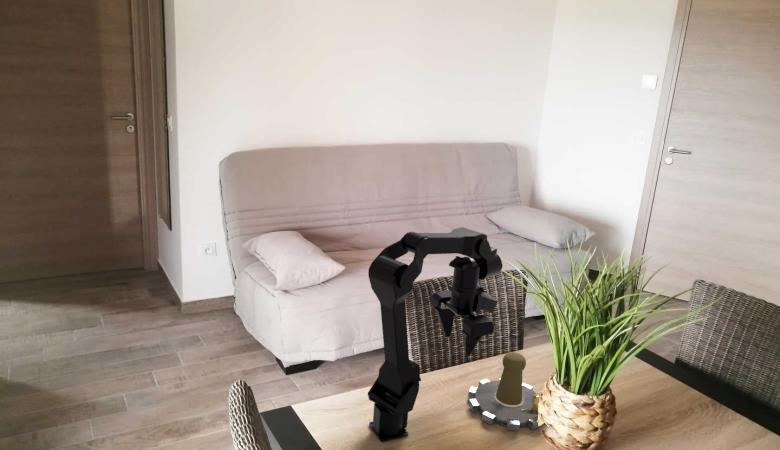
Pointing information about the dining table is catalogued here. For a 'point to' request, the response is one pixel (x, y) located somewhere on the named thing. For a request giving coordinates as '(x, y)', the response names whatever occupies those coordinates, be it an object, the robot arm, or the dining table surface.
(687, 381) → the dining table surface
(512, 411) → the sprocket
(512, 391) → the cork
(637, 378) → the dining table surface
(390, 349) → the robot arm
